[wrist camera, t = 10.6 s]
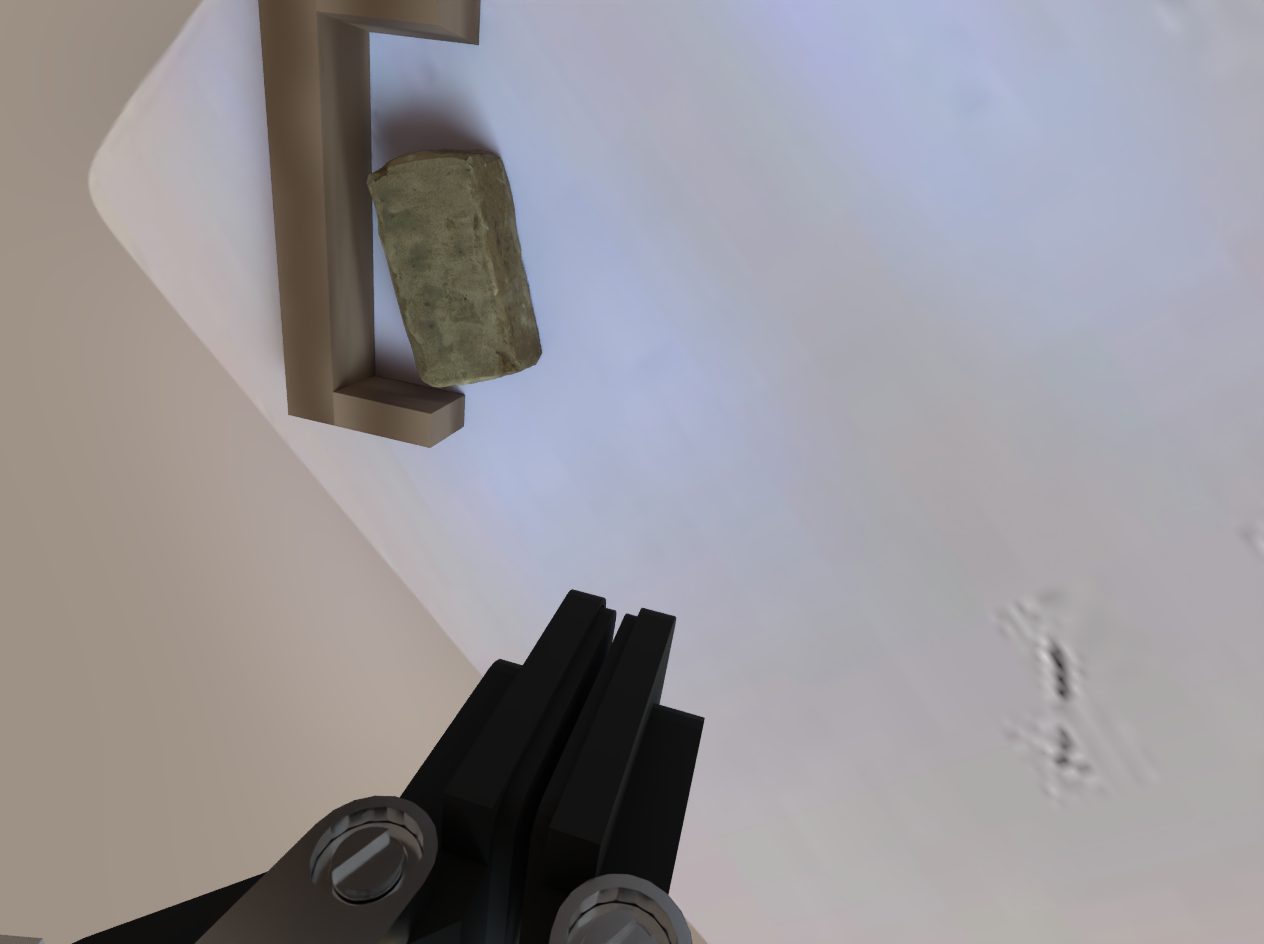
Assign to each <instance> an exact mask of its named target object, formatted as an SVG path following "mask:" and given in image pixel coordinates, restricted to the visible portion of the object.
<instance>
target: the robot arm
mask: <svg viewBox="0 0 1264 944" xmlns="http://www.w3.org/2000/svg"><path fill="white" fill-rule="evenodd" d="M615 621H616V611H615V610H612V609H608V608H606V599H605V598H603V597H600V596H596V595H592V594H588V593H584V592H581V591H577V590H573V589H572V590H570V591H569V593H568V594H567V595H566V597H565V599H564V600H563V602H562V603H561V605H560V607H559V608H558V610H557V611H556V613H555V615H554V616H553V618H552V619H551V621H550V623H549V624H548V626H547V627H546V629H545V631H544V632H543V634H542V635H541V637H540V639H539V640H538V642H537V643H536V645H535V647H534V648H533V650H532V651H531V653H530V655H529V656H528V658H527V659H526V661H525V663H524V664H523V665H519V664H516V663H512V662H509V661H505V660H502V659H499V660H497V661H495V662H494V663H493V664H492V666H491V667H490V668H489V669H488V671H487V672H486V674H485V675H484V677H483V678H482V680H481V681H480V682H479V684H478V685H477V687H476V688H475V690H474V691H473V692H472V694H471V695H470V697H469V698H468V700H467V701H466V703H465V704H464V705H463V707H462V708H461V710H460V711H459V713H458V714H457V715H456V717H455V719H454V720H453V721H452V723H451V724H450V726H449V727H448V728H447V730H446V731H445V733H444V734H443V736H442V737H441V739H440V740H439V742H438V743H437V744H436V746H435V747H434V749H433V750H432V752H431V753H430V754H429V756H428V757H427V759H426V760H425V762H424V763H423V765H422V766H421V767H420V769H419V770H418V772H417V773H416V775H415V776H414V778H413V779H412V780H411V782H410V783H409V785H408V786H407V788H406V789H405V791H404V792H403V793H402V795H401V796H400V798H399V797H396V796H372V797H368V798H363V799H358V800H354V801H352V802H350V803H348V804H345V805H343V806H341V807H339V808H337V809H335V810H333V811H332V812H331V813H329V814H328V815H327V816H325V817H324V818H323V819H322V820H320V821H319V822H318V823H316V824H315V825H314V826H313V827H312V828H311V829H310V830H309V831H308V832H307V833H306V834H305V835H304V836H303V837H302V838H301V839H300V840H299V841H298V842H297V843H296V844H295V845H294V846H293V847H292V848H291V849H290V850H289V851H288V852H287V853H286V854H285V855H284V856H283V857H282V858H281V859H280V860H279V861H278V862H277V863H276V864H275V865H274V866H273V867H272V868H271V869H270V870H269V871H268V872H265V873H262V874H260V875H257V876H255V877H251V878H249V879H246V880H243V881H241V882H238V883H235V884H232V885H230V886H227V887H224V888H221V889H218V890H216V891H213V892H210V893H207V894H204V895H202V896H199V897H196V898H193V899H191V900H188V901H185V902H182V903H180V904H177V905H174V906H172V907H168V908H166V909H163V910H160V911H158V912H155V913H152V914H149V915H146V916H144V917H141V918H138V919H135V920H133V921H130V922H127V923H124V924H121V925H119V926H116V927H113V928H110V929H108V930H105V931H102V932H99V933H96V934H94V935H91V936H89V937H85V938H83V939H81V940H79V941H77V942H74V943H72V944H692V938H691V932H690V930H689V927H688V925H687V923H686V920H685V918H684V916H683V914H682V911H681V910H680V909H679V908H678V906H677V905H676V904H675V903H674V901H673V900H672V899H671V898H670V897H669V895H668V894H669V889H670V884H671V879H672V874H673V870H674V865H675V860H676V855H677V850H678V845H679V841H680V836H681V831H682V826H683V821H684V816H685V811H686V807H687V802H688V797H689V792H690V787H691V782H692V778H693V773H694V768H695V763H696V758H697V753H698V748H699V744H700V739H701V734H702V729H703V724H704V719H705V718H704V717H700V716H697V715H693V714H690V713H686V712H683V711H679V710H676V709H672V708H669V707H666V706H662V705H659V704H660V699H661V694H662V689H663V684H664V679H665V674H666V669H667V664H668V659H669V653H670V648H671V643H672V638H673V633H674V628H675V623H676V617H675V616H672V615H668V614H664V613H660V612H656V611H653V610H649V609H645V608H641V610H640V612H639V614H638V616H634V615H630V614H625V616H624V618H623V620H622V623H621V625H620V627H619V629H618V631H617V634H616V636H615V638H614V640H613V634H614V628H615ZM612 641H613V642H612ZM0 944H44V942H43V939H42V938H31V937H19V936H8V935H0Z"/></svg>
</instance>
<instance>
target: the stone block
mask: <svg viewBox="0 0 1264 944" xmlns="http://www.w3.org/2000/svg"><path fill="white" fill-rule="evenodd" d="M367 185H368V188H369V191H370V193H371V196H372V199H373V201H374V204H375V207H376V212H377V217H378V231H379V236H380V240H381V243H382V246H383V249H384V252H385V255H386V259H387V262H388V266H389V271H390V275H391V278H392V282H393V286H394V290H395V294H396V298H397V301H398V305H399V308H400V312H401V316H402V319H403V323H404V326H405V329H406V332H407V335H408V338H409V341H410V344H411V347H412V350H413V354H414V358H415V362H416V367H417V371H418V374H419V376H420V378H421V379H422V381H424V382H425V383H426V384H428V385H430V386H432V387H448V386H451V385H467V384H472V383H477V382H481V381H487V380H492V379H496V378H500V377H503V376H505V375H510V374H514V373H517V372H520V371H522V370H524V369H526V368H529V367H531V366H533V365H536V363H537V362H538V360H539V358H540V356H541V354H542V349H541V346H540V340H539V332H538V328H537V324H536V320H535V315H534V310H533V306H532V302H531V298H530V291H529V285H528V282H527V278H526V273H525V270H524V267H523V265H522V262H521V247H520V243H519V239H518V234H517V228H516V219H515V209H514V203H513V198H512V193H511V189H510V185H509V181H508V178H507V175H506V171H505V168H504V165H503V162H502V160H501V159H500V158H499V157H497V156H495V155H494V154H491V153H488V152H485V151H481V150H473V151H454V150H447V149H443V150H439V151H434V150H428V151H420V152H414V153H409V154H405V155H403V156H400V157H398V158H395V159H393V160H391V161H389V162H387V163H386V164H385V165H384V166H383V167H382V168H381V169H379V170H378V171H376V172H374V173H372V174H369V175H368V179H367Z"/></svg>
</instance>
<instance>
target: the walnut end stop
mask: <svg viewBox="0 0 1264 944" xmlns="http://www.w3.org/2000/svg"><path fill="white" fill-rule="evenodd" d="M258 2H259V16H260V30H261V43H262V57H263V71H264V85H265V98H266V112H267V126H268V140H269V153H270V167H271V181H272V195H273V209H274V222H275V236H276V250H277V264H278V277H279V291H280V305H281V319H282V332H283V346H284V360H285V374H286V388H287V401H288V415H292V416H296V417H300V418H304V419H309V420H313V421H317V422H322V423H326V424H330V425H334V426H339V427H343V428H347V429H351V430H356V431H360V432H364V433H368V434H373V435H377V436H381V437H386V438H390V439H394V440H398V441H403V442H407V443H411V444H415V445H420V446H424V447H428V448H431V447H432V446H434V445H436V444H437V443H439V442H440V441H442V440H443V439H445V438H447V437H448V436H450V435H451V434H453V433H454V432H456V431H457V430H459V429H461V428H462V427H464V409H465V395H462V394H457V393H453V392H448V391H444V390H439V389H434V388H430V387H425V386H421V385H416V384H411V383H407V382H402V381H398V380H393V379H389V378H384V377H379V376H375V344H374V286H373V228H372V196H371V193H370V191H369V188H368V185H367V179H368V175H369V174H372V170H371V113H370V55H369V32H375V33H383V34H391V35H400V36H408V37H416V38H424V39H433V40H441V41H449V42H458V43H466V44H474V45H479V24H480V0H258Z"/></svg>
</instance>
